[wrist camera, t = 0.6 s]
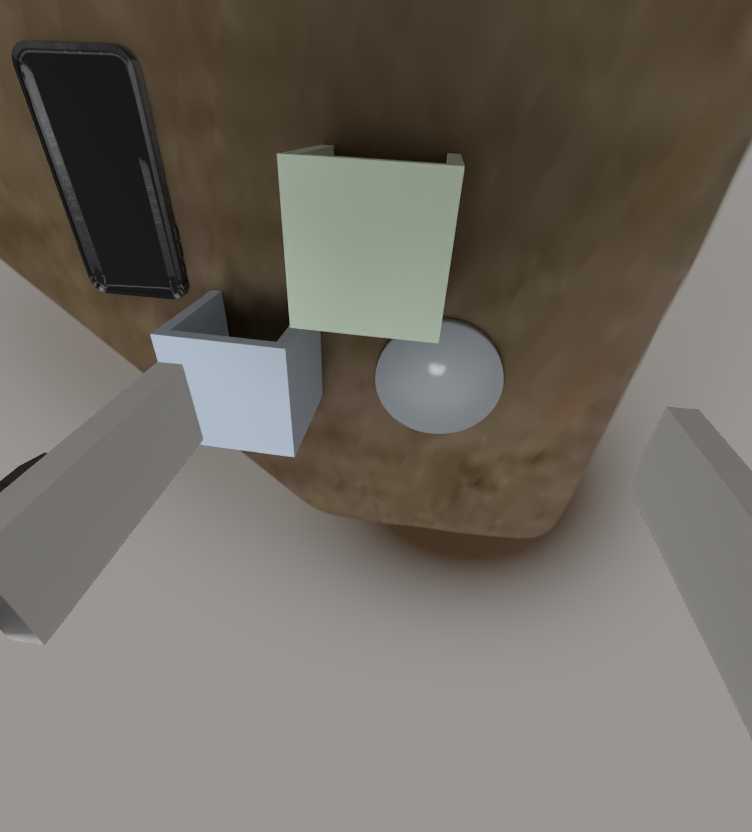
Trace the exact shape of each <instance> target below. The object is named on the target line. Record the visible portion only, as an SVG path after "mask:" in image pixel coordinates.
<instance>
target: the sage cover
mask: <svg viewBox="0 0 752 832" xmlns="http://www.w3.org/2000/svg"><path fill="white" fill-rule="evenodd" d="M277 163H278V176H279V189H280V203H281V216H282V229H283V242H284V255H285V269H286V282H287V295H288V308H289V322H290V328H297V329H306V330H316V331H325V332H334V333H344V334H353V335H363V336H372V337H382V338H391V339H400V340H410V341H419V342H429V343H438V344H439V337H440V331H441V324H442V317H443V310H444V304H445V297H446V290H447V283H448V277H449V270H450V263H451V256H452V249H453V243H454V236H455V229H456V222H457V216H458V209H459V202H460V195H461V189H462V182H463V175H464V168H465V165H464V162H463V159H462V156H461V154H453V153H447V160H446V164H445V163H431V162H416V161H402V160H387V159H373V158H358V157H344V156H334V146H333V145H317V146H312V147H307V148H302V149H297V150H292V151H286V152H281V153H277Z"/></svg>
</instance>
